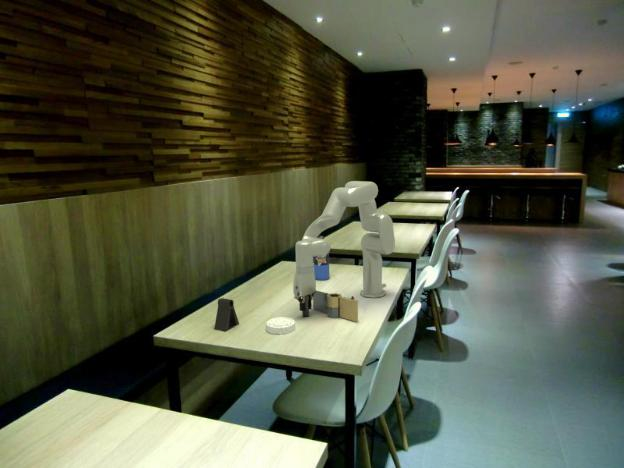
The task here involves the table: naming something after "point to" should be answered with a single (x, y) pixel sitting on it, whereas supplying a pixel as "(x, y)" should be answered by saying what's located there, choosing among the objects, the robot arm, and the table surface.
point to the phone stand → (226, 315)
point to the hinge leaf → (344, 306)
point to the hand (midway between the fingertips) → (305, 309)
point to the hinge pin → (306, 313)
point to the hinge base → (324, 305)
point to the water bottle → (321, 266)
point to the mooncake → (280, 325)
